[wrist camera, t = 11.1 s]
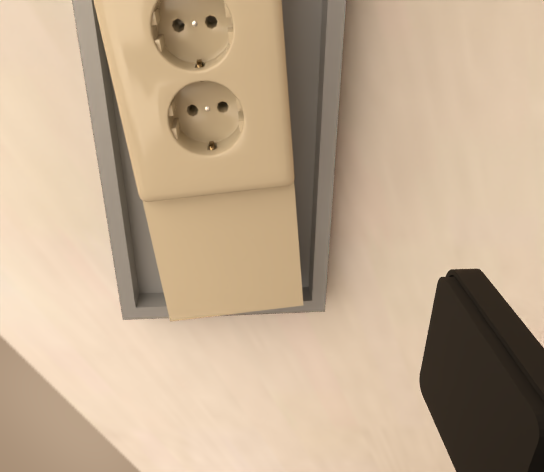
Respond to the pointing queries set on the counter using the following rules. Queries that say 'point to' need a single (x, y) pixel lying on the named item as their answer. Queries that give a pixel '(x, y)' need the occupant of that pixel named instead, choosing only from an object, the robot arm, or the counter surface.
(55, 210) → the counter surface
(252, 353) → the counter surface
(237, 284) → the electrical outlet
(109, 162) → the grey rectangular tray
